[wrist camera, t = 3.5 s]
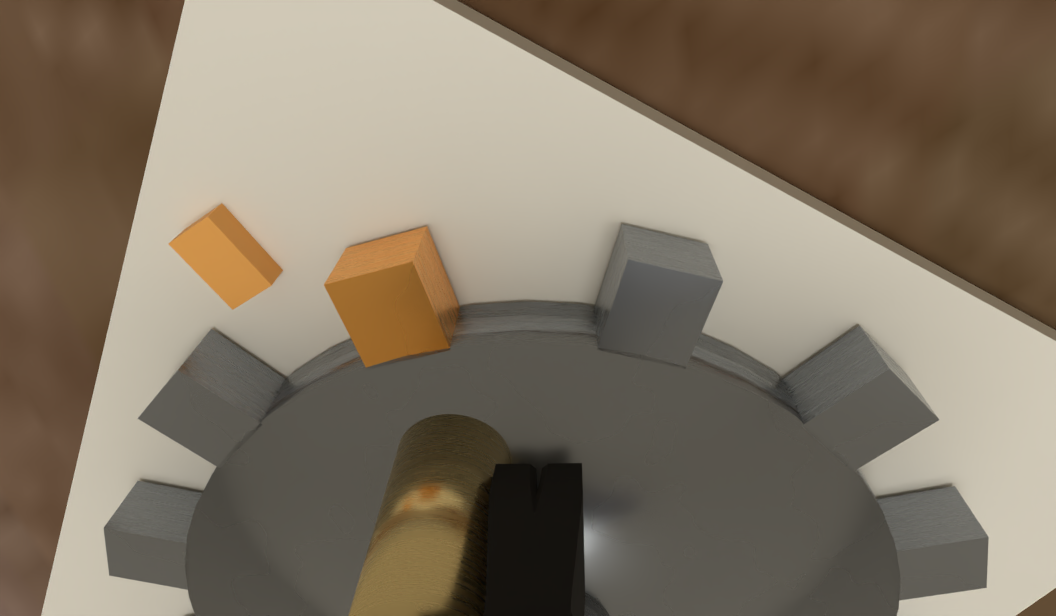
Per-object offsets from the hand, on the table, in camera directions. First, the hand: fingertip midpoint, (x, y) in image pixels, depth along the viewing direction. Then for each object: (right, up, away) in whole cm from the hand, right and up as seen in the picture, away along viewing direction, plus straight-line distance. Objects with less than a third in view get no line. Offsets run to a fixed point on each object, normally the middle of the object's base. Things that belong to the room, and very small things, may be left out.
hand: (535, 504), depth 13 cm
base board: (0, -3, +6) cm, 6 cm away
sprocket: (0, -3, +5) cm, 6 cm away
